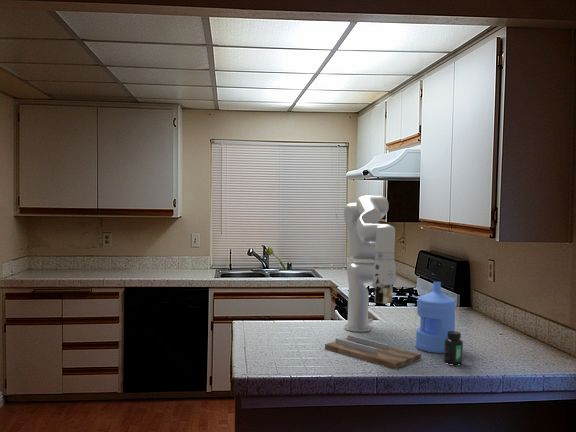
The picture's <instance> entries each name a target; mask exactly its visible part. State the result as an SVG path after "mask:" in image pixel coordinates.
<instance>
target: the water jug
mask: <svg viewBox="0 0 576 432" xmlns="http://www.w3.org/2000/svg"><path fill="white" fill-rule="evenodd" d="M441 284H442V282H441V281H433V286H432V291H430V292H429V293H426V294H424V295H421V296H419V297H417V301H416V302H417V303H416V308H417V309H416V310H417V311H416V312H417V313H416V314H417V316H419V317H420V325H419V327H418V328H417V329H416V332H415V334H416V335H415V336H416V338H415V347H416V348H417V349H419V350H420V351H423V352H426V351H427V353H431V352H433V353H432V354H444V343H445V339H447V338H448V337H447V335H448V331H456V310H457V309H456V308H457V305H456V300H455V299H454V298H452V297H451V296H449V295H447V294H445V293H444V292H442V291H441V289H442V285H441Z"/></svg>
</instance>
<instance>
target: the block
mask: <svg viewBox="0 0 576 432" xmlns="http://www.w3.org/2000/svg"><path fill="white" fill-rule="evenodd" d="M393 287H394V286H393ZM393 287H388V285H387V286H383V290H382V293H383V302H382V303H380V302H378V303H380V304H384V305H385V304H389V303H392V302H393V291H394V290H393ZM379 288H380V286H379ZM375 297H376V292H375V291H374V298H375ZM374 302H375V303H377V302H376V301H375V300H374Z"/></svg>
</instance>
